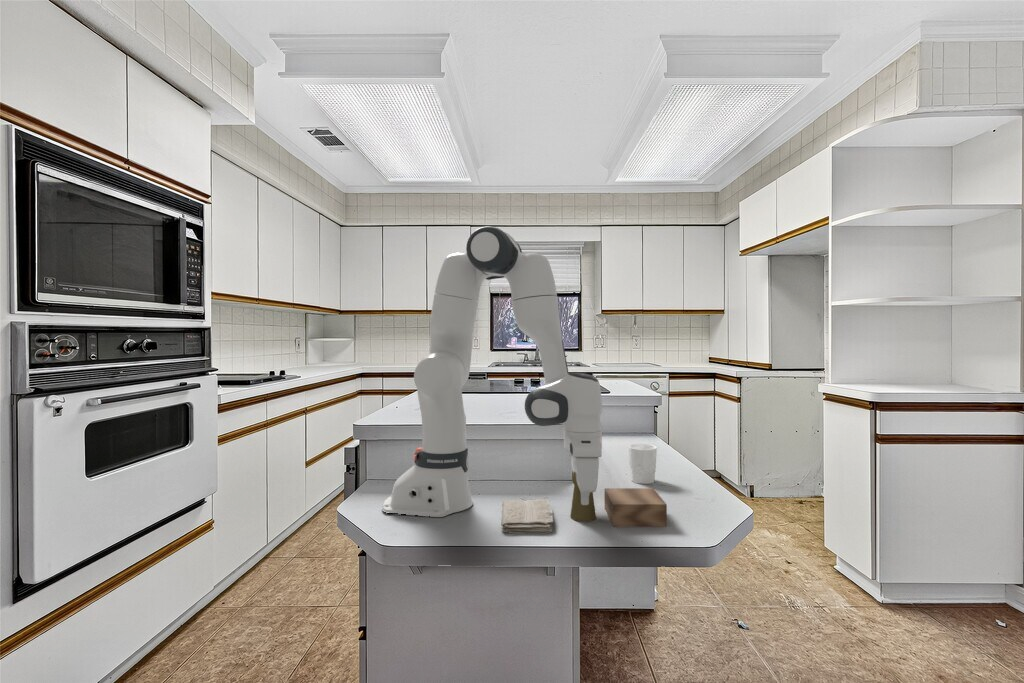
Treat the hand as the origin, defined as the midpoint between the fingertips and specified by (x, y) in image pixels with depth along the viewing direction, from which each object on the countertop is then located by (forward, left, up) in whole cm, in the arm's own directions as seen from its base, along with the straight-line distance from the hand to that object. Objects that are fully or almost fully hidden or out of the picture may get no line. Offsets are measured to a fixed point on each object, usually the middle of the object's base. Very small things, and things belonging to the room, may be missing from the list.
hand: (582, 499), depth 126 cm
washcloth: (-13, -1, -5) cm, 14 cm away
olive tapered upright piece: (0, 0, -4) cm, 4 cm away
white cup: (+21, +30, -4) cm, 37 cm away
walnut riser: (+12, 0, -4) cm, 13 cm away
